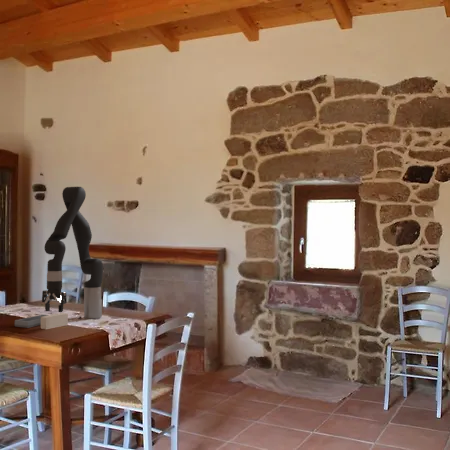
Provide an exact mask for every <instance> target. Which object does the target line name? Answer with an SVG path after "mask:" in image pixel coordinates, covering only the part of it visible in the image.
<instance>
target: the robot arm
mask: <svg viewBox="0 0 450 450" xmlns="http://www.w3.org/2000/svg"><path fill="white" fill-rule="evenodd" d="M61 195H62V196H61V197H62V201H63V203H64V205H65V208H66V211H65V212H64V213H63V214H62V215H61V216H60V217H59V219H58V220H57V222H56V224H55V227H54V230H53V232H51V234H50V236H49V237H48V239H46V241H45V244H44V246H43V247H44V252H45V253H46V254H47V255H54V256H53V257H52V259H49V260H48V261H47V272H46V290H42V292H41V293H42V294H41V302H42V303H44V304H45V305H44V309H45V312H49V311H50V310H51V309H50V308H51V303H50V302H51V301H56V302H57V304H58V313H63V311H64V305H65V304H67V301H68V300H67V291H62V288H63V261H64V258H65V253H66V248H67V247H66V244H65V243H64V241H61V240H65V239H67V237H68V234H69V231H70V229H71V228H72V232H73V235H74V239H75V243H76V248H77V250H78V257H79V264H80V269H81V271H82V272H83V274H85V275H89V276H90V278H89V280H86V281H85V282H84V284H83V292H84V293H83V298H84V299H83V318H84V319H88V320H89V319H90V320H91V319H94V320H95V319H100V318H101V317H102V316H103V299H102V282H103V277H104V276H103V273H104V265H103V261H102V260H101V259H100V258H94V257H93V258H91V255H90V245H91V241H92V237H93V235H92V230H91V225H90V223H89V222H88V220H87V219H86V218H85V217H84V215H83V214H82V213H81V212H80V208H81V207H82V206H83V204H84V202H85V199H86V197H87V196H86V191H85V188H84V187H82V186H67V187H64V188H63V190H62V193H61Z"/></svg>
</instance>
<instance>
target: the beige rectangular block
mask: <svg viewBox="0 0 450 450" xmlns="http://www.w3.org/2000/svg"><path fill="white" fill-rule="evenodd" d="M47 315H48V314H47ZM68 317H69V313H67V312H58V313H55V314H49V315H48V316H43V317H41V325H40V329H42V330H49V329H54V328H60V327H64V326H68V324H69V323H68V322H69V321H68V320H69V319H68Z"/></svg>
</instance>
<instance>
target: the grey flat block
mask: <svg viewBox="0 0 450 450" xmlns="http://www.w3.org/2000/svg"><path fill="white" fill-rule="evenodd" d="M43 316H48V314H39V315H34V316H29V317H25V318H20V319H15V320H14V327H19V328H27V329H28V328H29V329H30V328H33V327H37V326H41V317H43Z"/></svg>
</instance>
